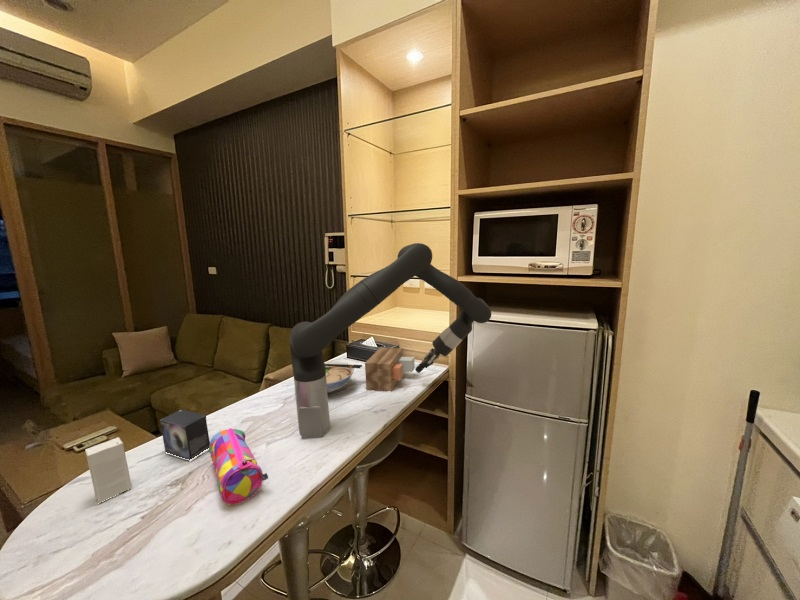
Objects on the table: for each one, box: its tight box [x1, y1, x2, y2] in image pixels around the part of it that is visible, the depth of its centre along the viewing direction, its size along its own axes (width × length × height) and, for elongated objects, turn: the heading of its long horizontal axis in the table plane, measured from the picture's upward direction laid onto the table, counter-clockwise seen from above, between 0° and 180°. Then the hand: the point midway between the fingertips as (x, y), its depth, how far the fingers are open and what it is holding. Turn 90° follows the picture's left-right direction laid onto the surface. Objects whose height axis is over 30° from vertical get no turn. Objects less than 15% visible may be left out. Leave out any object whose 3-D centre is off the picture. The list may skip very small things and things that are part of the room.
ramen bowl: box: [324, 361, 363, 394], centre depth 124 cm, size 25×23×8 cm
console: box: [364, 347, 403, 392], centre depth 130 cm, size 10×20×11 cm, turn 166°
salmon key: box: [392, 364, 404, 381], centre depth 125 cm, size 7×5×5 cm
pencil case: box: [208, 427, 269, 506], centre depth 76 cm, size 22×9×9 cm, turn 39°
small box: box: [159, 409, 211, 460], centre depth 87 cm, size 11×6×10 cm, turn 68°
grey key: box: [398, 356, 416, 373], centre depth 133 cm, size 7×5×5 cm
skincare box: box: [84, 436, 133, 504], centre depth 72 cm, size 6×4×12 cm
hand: (417, 370), depth 123 cm, fingers closed
